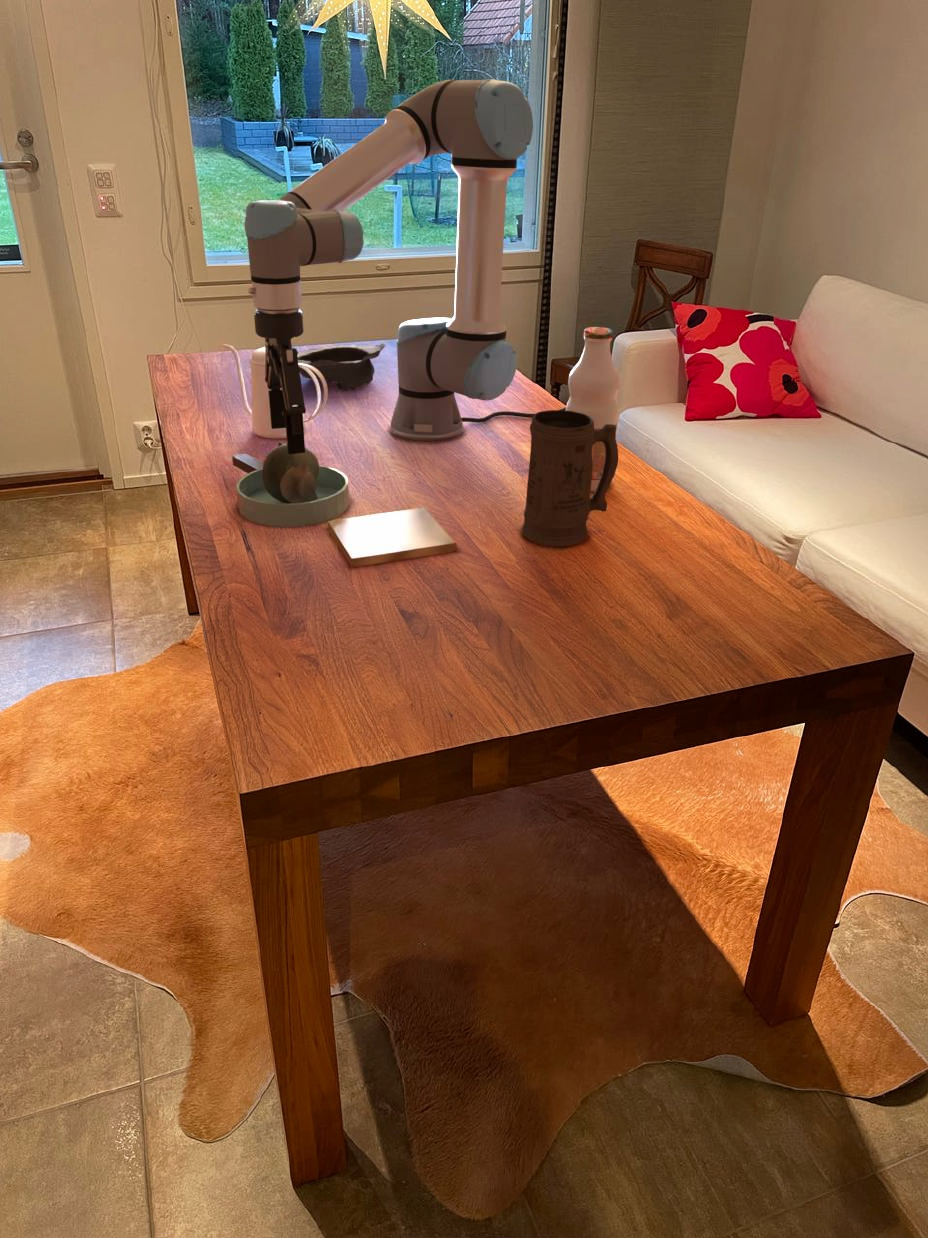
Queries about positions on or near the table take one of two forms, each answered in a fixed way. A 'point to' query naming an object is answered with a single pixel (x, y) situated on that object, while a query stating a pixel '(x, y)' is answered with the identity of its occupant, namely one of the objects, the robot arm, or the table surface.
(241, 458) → the pan handle
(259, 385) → the coffeepot
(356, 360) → the stone bowl
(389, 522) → the cutting board
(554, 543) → the beer stein
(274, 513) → the pan
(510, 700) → the table surface
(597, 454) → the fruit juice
